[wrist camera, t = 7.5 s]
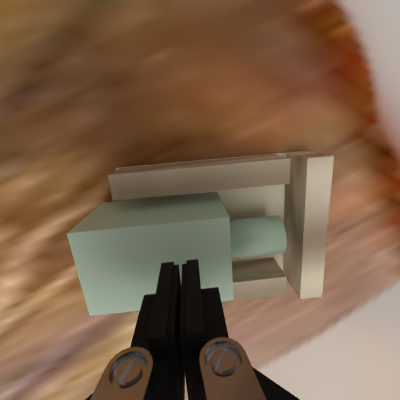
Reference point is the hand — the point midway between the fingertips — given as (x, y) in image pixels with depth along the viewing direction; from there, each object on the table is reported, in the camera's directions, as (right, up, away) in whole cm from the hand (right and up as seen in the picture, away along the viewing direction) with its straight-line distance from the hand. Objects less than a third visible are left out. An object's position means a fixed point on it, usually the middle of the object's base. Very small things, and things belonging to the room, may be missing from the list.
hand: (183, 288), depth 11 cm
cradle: (+2, +2, +7) cm, 7 cm away
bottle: (-6, +1, +4) cm, 7 cm away
